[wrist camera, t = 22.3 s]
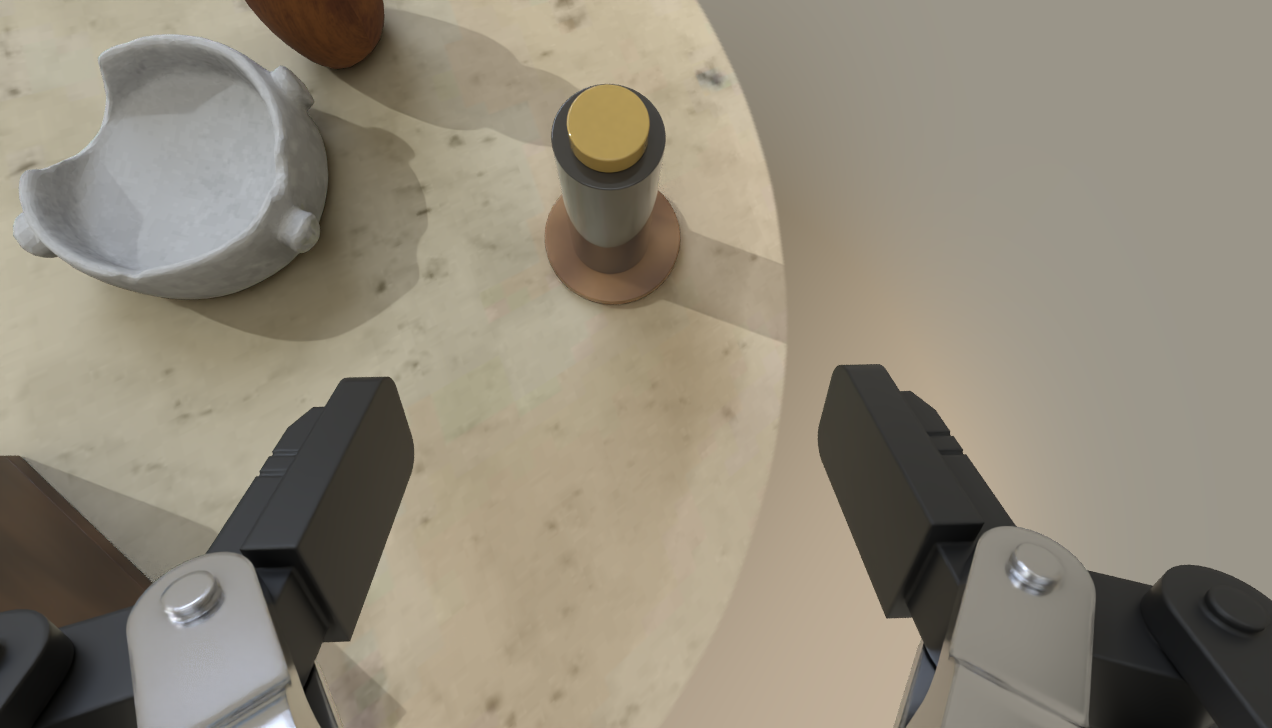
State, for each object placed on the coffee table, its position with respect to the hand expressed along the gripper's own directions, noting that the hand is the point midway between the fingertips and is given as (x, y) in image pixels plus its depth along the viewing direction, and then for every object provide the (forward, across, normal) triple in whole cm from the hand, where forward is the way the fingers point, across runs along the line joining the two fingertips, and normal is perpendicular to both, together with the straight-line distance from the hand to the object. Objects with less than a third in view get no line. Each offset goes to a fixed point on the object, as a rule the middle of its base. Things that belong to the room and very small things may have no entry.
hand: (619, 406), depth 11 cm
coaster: (+24, 0, -8) cm, 25 cm away
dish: (+26, -23, -5) cm, 35 cm away
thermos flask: (+24, 0, -7) cm, 25 cm away
